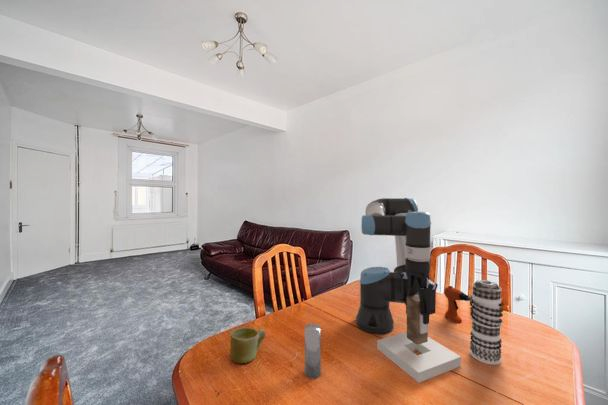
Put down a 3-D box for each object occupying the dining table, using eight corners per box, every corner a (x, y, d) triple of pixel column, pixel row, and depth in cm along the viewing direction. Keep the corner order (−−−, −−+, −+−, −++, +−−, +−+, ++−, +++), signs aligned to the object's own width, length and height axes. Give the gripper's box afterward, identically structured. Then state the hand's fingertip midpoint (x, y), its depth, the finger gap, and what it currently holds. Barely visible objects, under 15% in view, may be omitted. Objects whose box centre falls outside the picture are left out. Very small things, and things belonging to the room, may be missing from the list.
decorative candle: (485, 346, 91) (486, 276, 90) (510, 363, 82) (511, 286, 81) (462, 349, 90) (463, 278, 89) (485, 367, 81) (486, 288, 80)
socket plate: (377, 348, 90) (377, 340, 90) (415, 337, 98) (415, 329, 98) (418, 382, 74) (418, 372, 74) (460, 366, 81) (461, 356, 81)
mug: (230, 367, 78) (234, 331, 82) (224, 359, 87) (228, 326, 90) (268, 364, 83) (271, 330, 87) (259, 357, 92) (262, 326, 95)
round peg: (302, 370, 80) (302, 325, 79) (316, 366, 81) (316, 322, 81) (308, 380, 75) (308, 333, 75) (323, 376, 77) (323, 329, 77)
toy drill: (474, 333, 97) (470, 294, 99) (442, 317, 115) (440, 284, 116) (485, 332, 98) (481, 293, 99) (452, 316, 116) (449, 283, 117)
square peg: (406, 337, 87) (406, 296, 86) (416, 334, 88) (416, 294, 88) (417, 344, 82) (417, 301, 82) (427, 341, 84) (427, 299, 84)
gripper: (389, 254, 91) (389, 319, 92) (432, 266, 75) (431, 345, 76) (405, 252, 94) (405, 315, 95) (449, 263, 78) (449, 339, 79)
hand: (417, 328), depth 85 cm, fingers closed on square peg, 4 cm apart
